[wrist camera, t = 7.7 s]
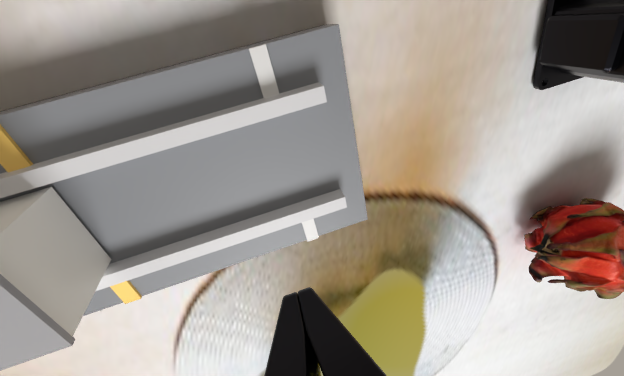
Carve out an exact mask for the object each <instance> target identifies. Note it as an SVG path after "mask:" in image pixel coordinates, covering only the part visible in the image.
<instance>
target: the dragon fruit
mask: <svg viewBox="0 0 624 376" xmlns="http://www.w3.org/2000/svg"><path fill="white" fill-rule="evenodd" d="M530 219H538V220H537V221H538V222H539V223H540V224H541V225H542V228H537V229H535V230H534V231H533V232H532V233H528V234H525V235H524V236H525V238H524V239H525V245H526V247H525V249H527V250H528V251H531V252H537V254H536V255H535V258H534V259H533V260H532V261H531V262H532V263H531V264H530V266H529V273H530V274H531V275H532V277H533V279H534V280H535V281H537V282H541V281H542V278H544V277H548V276H564V280H558V279H556V280H550V281H548V282H549V283H565V284H566V287H567V288H571V289H574V290H577V291H586V290H590V291H591V290H595V292H596V294H597V296H598V297H599V298H603V299H612V298H616V297H618V296H619V295H620V294H621V293H622V292H624V211H623V210H622V209H621V208H619V207H617V206H615V205H613V204H611V203H609V202H608V203H607V202H606V203H605V202H603V201H599V200H595V199H587V198H584V199H582V200H581V203H580V205H575V206H565V205H561V206H558V207H554V208H553V207H551V206H550V207H547V208H546V209H543V210H541V211H539V212H537V213H536V214H535V215H533V217H531V218H530Z"/></svg>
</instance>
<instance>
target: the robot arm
mask: <svg viewBox="0 0 624 376" xmlns="http://www.w3.org/2000/svg"><path fill="white" fill-rule="evenodd" d="M582 77H590V78H596V79H603V80H610V81H617V82H623V83H624V0H548V5H547V11H546V16H545V22H544V27H543V33H542V38H541V44H540V49H539V55H538V60H537V66H536V71H535V77H534V82H533V86H534V88H535V89H539V90H544V89H547V88H550V87H554V86H557V85H560V84H563V83H566V82H569V81H573V80H576V79H579V78H582ZM319 366H320V367H319ZM320 368H321V371H322V373H323V376H386V374H385V373H384V372H383V371H382V370H381V369H380V367H379V366H378V365H377V364H376V363H375V362H374V360H373V359H372V358H371V357H370V356H369V355H368V353H367V352H366V351H365V350H364V349H363V348H362V346H361V345H360V344H359V343H358V342H357V341H356V339H355V338H354V337H353V336H352V335H351V333H350V332H349V331H348V330H347V329H346V328H345V327H344V326H343V324H342V323H341V322H340V321H339V319H338V318H337V317H336V316H335V315H334V314H333V312H332V311H331V310H330V309H329V308H328V307H327V305H326V304H325V303H324V302H323V301H322V300H321V298H320V297H319V296H318V295H317V294H316V293H315V291H314V290H313V289H312V288H310V287H309V288H306V289H303V290H300V291H299V292H298V293H296V292H294V293H291V294H289V295H286V296H284V297H283V300H282V304H281V308H280V312H279V317H278V321H277V325H276V329H275V333H274V338H273V342H272V346H271V350H270V354H269V359H268V363H267V367H266V371H265V375H264V376H321V372H320Z"/></svg>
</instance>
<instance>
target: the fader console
mask: <svg viewBox="0 0 624 376" xmlns="http://www.w3.org/2000/svg"><path fill="white" fill-rule="evenodd" d="M49 187H52V188H53V189H54V190H55V192H56V193H57V194H58V195H59V196H60V198H61V199H62V200H63V201H64V202H65V204H66V205H67V206H68V207H69V209H70V210H71V211H72V212H73V213H74V215H75V216H76V217H77V218H78V219H79V221H80V222H81V223H82V224H83V226H84V227H85V228H86V229H87V230H88V232H89V233H90V234H91V235H92V236H93V238H94V239H95V240H96V241H97V243H98V244H99V245H100V246H101V247H102V249H103V250H104V251H105V252H106V253H107V255H108V256H109V257H110V258H111V261H110V263H109V265H108V267H107V269H106V271H105V273H104V275H103V277H102V279H101V281H100V283H99V285H98V287H97V289H96V291H95V293H94V295H93V297H92V299H91V301H90V303H89V305H88V307H87V309H86V311H85V313H84V315H83V316H85V315H88V314H90V313H93V312H96V311H99V310H102V309H105V308H108V307H111V306H114V305H117V304H120V303H123V302H124V303H125V304H126V303H129V302H132V301H135V300H138V299H141V297H142V296H143V295H146V294H149V293H152V292H155V291H158V290H161V289H164V288H167V287H170V286H173V285H176V284H179V283H182V282H185V281H188V280H190V279H193V278H196V277H199V276H202V275H205V274H208V273H211V272H214V271H217V270H220V269H223V268H226V267H229V266H232V265H235V264H238V263H240V262H243V261H246V260H249V259H252V258H255V257H258V256H261V255H264V254H267V253H270V252H273V251H276V250H279V249H282V248H285V247H287V246H290V245H293V244H296V243H299V242H302V241H305V240H307V242H308V241H311V240H314V239H317V238H319V236H320V235H323V234H326V233H329V232H332V231H335V230H337V229H340V228H343V227H346V226H349V225H352V224H355V223H358V222H361V221H364V220H367V212H366V205H365V199H364V192H363V185H362V178H361V172H360V165H359V158H358V151H357V145H356V138H355V131H354V124H353V118H352V111H351V104H350V97H349V91H348V84H347V77H346V70H345V64H344V57H343V50H342V44H341V37H340V30H339V24H326V25H322V26H319V27H315V28H311V29H307V30H304V31H300V32H296V33H293V34H289V35H285V36H281V37H278V38H274V39H270V40H266V41H263V42H259V43H255V44H251V45H248V46H244V47H240V48H237V49H233V50H229V51H225V52H222V53H218V54H214V55H210V56H207V57H203V58H199V59H195V60H192V61H188V62H184V63H181V64H177V65H173V66H169V67H166V68H162V69H158V70H154V71H151V72H147V73H143V74H140V75H136V76H132V77H128V78H125V79H121V80H117V81H113V82H110V83H106V84H102V85H98V86H95V87H91V88H87V89H84V90H80V91H76V92H72V93H69V94H65V95H61V96H57V97H54V98H50V99H46V100H42V101H39V102H35V103H31V104H28V105H24V106H20V107H16V108H13V109H9V110H5V111H1V112H0V202H2V201H5V200H8V199H12V198H15V197H19V196H22V195H25V194H29V193H32V192H36V191H39V190H42V189H46V188H49Z"/></svg>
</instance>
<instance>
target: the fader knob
mask: <svg viewBox="0 0 624 376" xmlns="http://www.w3.org/2000/svg"><path fill="white" fill-rule="evenodd" d="M110 261H111V258H110V257H109V256H108V255H107V253H106V252H105V251H104V250H103V249H102V247H101V246H100V245H99V244H98V243H97V241H96V240H95V239H94V238H93V236H92V235H91V234H90V233H89V232H88V230H87V229H86V228H85V227H84V226H83V224H82V223H81V222H80V221H79V219H78V218H77V217H76V216H75V215H74V213H73V212H72V211H71V210H70V209H69V207H68V206H67V205H66V204H65V202H64V201H63V200H62V199H61V198H60V196H59V195H58V194H57V193H56V192H55V190H54V189H53V188H52V187H49V188H46V189H42V190H39V191H36V192H32V193H29V194H25V195H22V196H19V197H15V198H12V199H8V200H5V201H2V202H0V371H1V370H3V369H6V368H9V367H12V366H15V365H18V364H21V363H24V362H26V361H29V360H32V359H35V358H38V357H41V356H44V355H46V354H49V353H52V352H55V351H58V350H61V349H64V348H67V347H69V346H72V345H73V343H74V341H75V338H74V337H72V336H73V334H74V332H75V330H76V328H77V326H78V325H79V323H80V321H81V319H82V317H83V315H84V313H85V311H86V309H87V307H88V305H89V303H90V301H91V299H92V297H93V295H94V293H95V291H96V289H97V287H98V285H99V283H100V281H101V279H102V277H103V275H104V273H105V271H106V269H107V267H108V265H109V263H110Z"/></svg>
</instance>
